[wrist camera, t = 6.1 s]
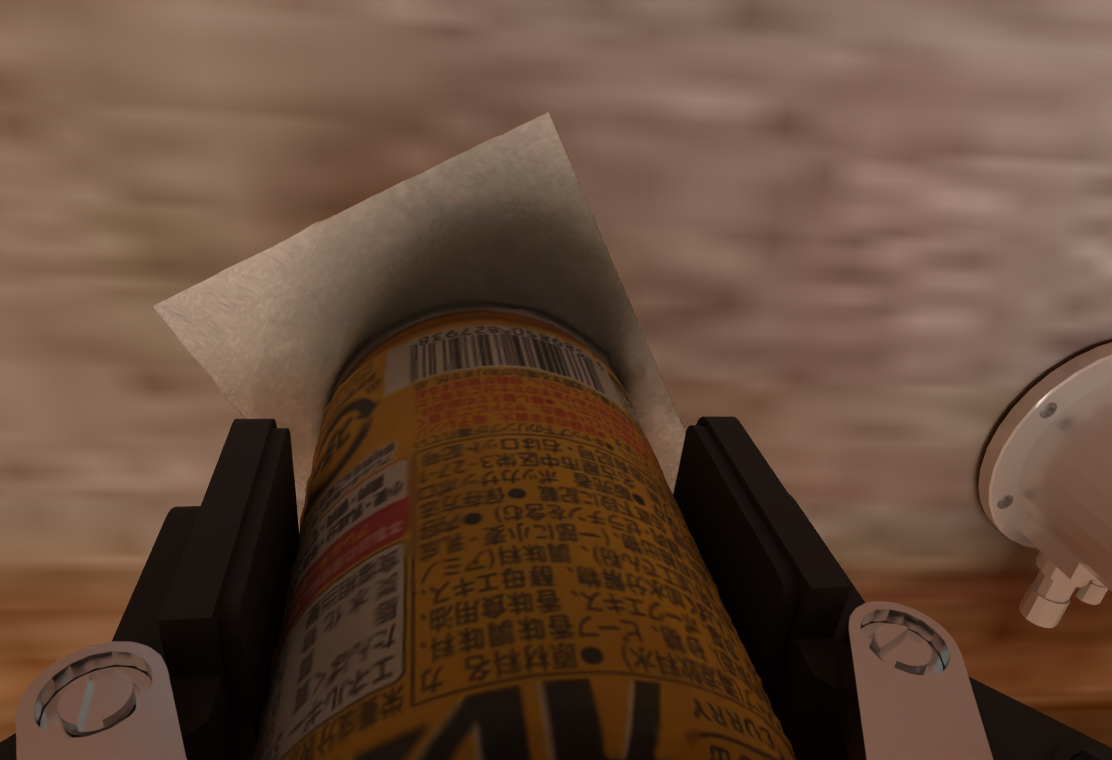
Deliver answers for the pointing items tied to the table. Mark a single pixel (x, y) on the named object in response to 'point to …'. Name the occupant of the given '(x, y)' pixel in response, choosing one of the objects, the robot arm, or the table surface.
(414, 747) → the condiment
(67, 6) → the table surface
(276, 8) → the table surface
